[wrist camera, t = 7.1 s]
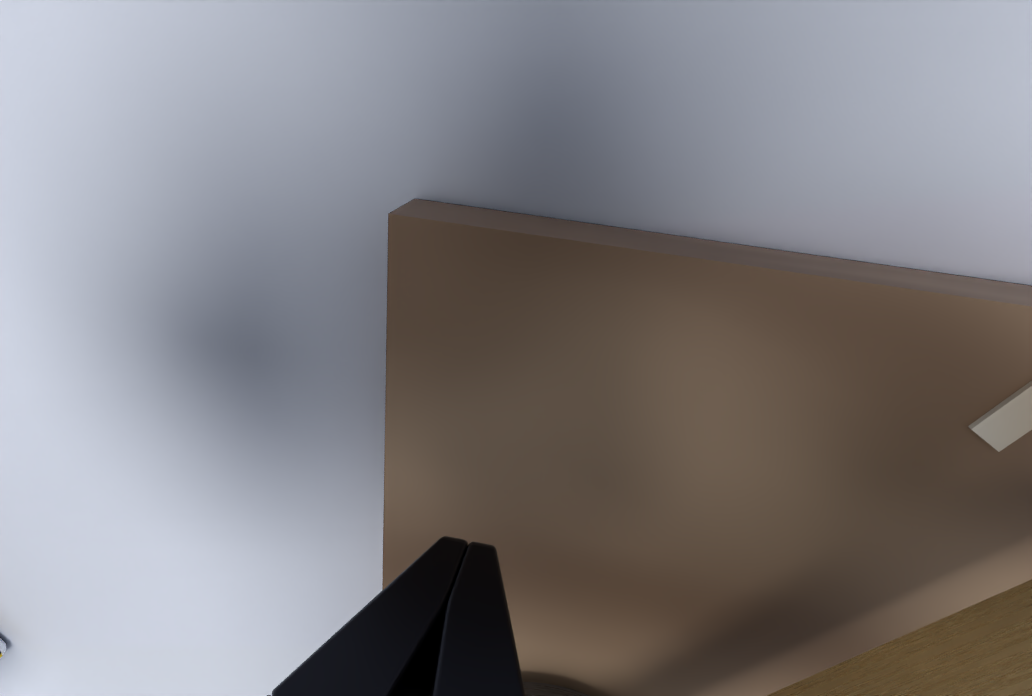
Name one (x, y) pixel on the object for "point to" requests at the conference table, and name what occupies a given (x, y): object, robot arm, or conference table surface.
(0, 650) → the medicine bottle
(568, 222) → the base plate
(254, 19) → the conference table surface
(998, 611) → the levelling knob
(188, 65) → the conference table surface
